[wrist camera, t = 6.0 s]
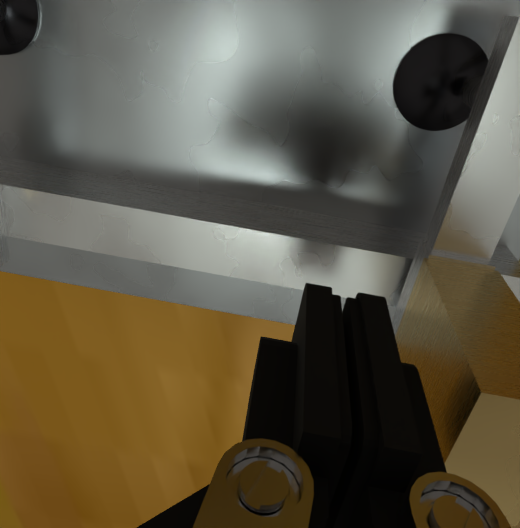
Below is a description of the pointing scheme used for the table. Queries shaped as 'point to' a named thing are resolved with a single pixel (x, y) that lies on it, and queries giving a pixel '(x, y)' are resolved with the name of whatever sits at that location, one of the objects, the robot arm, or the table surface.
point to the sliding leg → (473, 291)
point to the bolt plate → (235, 144)
